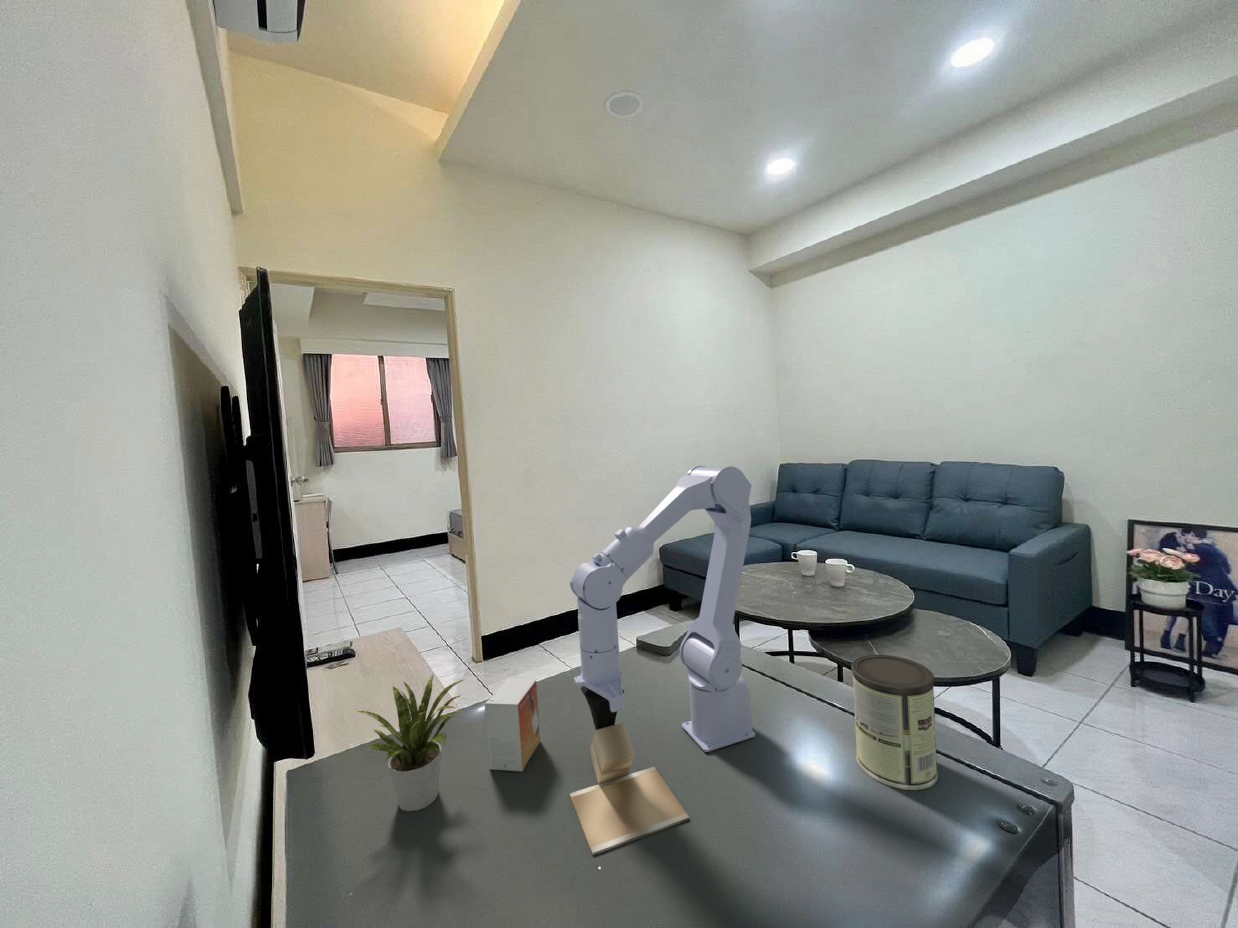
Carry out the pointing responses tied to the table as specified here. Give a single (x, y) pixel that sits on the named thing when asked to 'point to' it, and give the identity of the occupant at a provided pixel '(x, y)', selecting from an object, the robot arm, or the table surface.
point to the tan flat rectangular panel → (626, 809)
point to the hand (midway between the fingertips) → (605, 734)
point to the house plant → (415, 747)
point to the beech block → (611, 753)
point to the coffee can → (895, 721)
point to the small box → (512, 725)
